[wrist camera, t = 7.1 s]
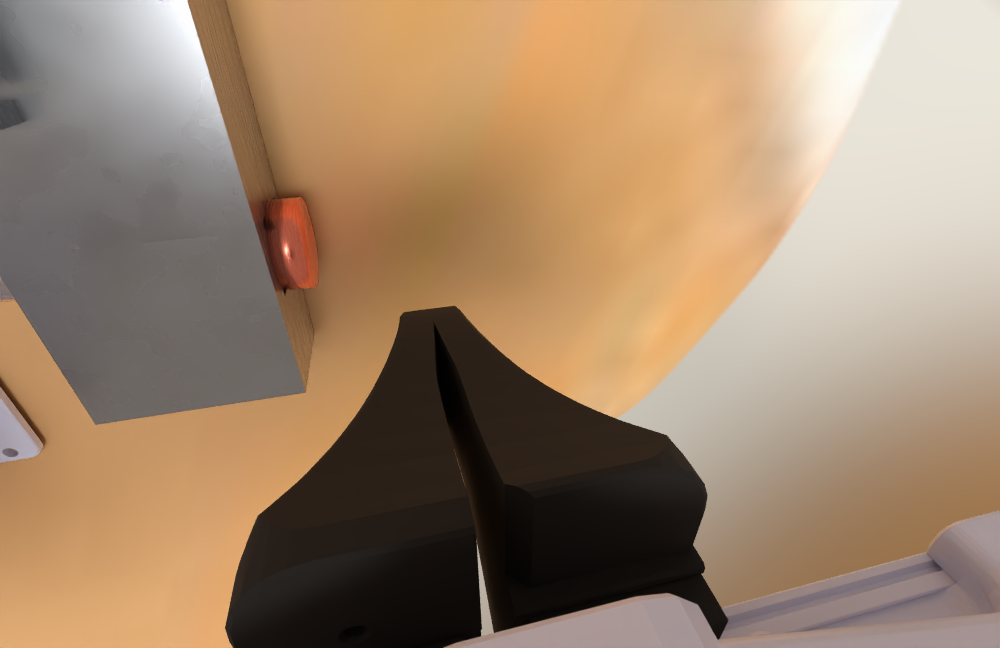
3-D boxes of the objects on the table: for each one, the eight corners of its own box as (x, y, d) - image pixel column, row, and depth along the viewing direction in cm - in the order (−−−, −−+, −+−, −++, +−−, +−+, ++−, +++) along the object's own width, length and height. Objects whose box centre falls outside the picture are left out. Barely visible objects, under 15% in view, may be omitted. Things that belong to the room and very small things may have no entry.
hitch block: (138, 357, 20) (82, 445, 16) (-213, -316, 10) (-584, -522, 6) (314, 333, 22) (302, 410, 18) (149, -285, 12) (35, -440, 8)
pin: (5, 297, 18) (-57, 348, 15) (-50, 213, 16) (-131, 253, 13) (321, 263, 20) (314, 303, 17) (302, 185, 18) (292, 216, 15)
